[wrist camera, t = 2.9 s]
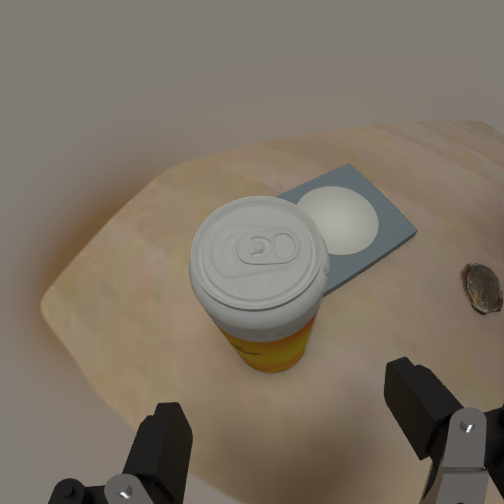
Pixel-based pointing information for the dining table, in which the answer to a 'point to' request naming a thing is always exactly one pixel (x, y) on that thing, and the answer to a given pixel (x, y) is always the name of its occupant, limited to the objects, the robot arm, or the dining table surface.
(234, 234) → the beer can
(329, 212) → the board
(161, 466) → the robot arm
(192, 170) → the dining table surface
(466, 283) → the decorative disc
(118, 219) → the dining table surface
